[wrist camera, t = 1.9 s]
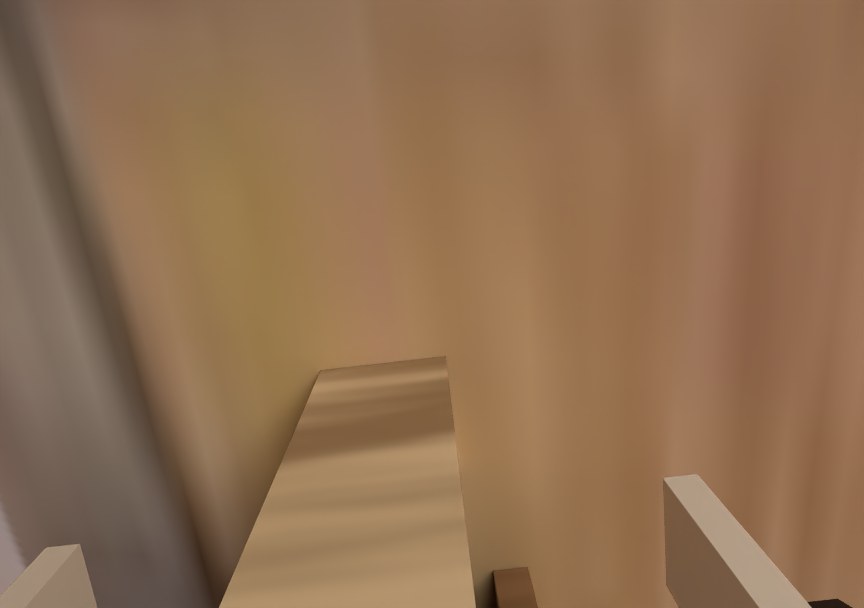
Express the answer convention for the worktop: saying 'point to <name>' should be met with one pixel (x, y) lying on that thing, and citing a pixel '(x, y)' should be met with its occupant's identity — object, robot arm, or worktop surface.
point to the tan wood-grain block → (364, 500)
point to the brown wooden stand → (514, 589)
